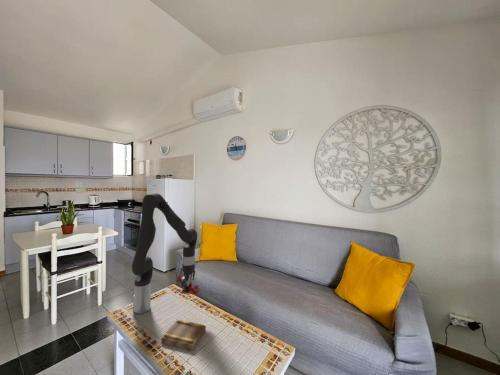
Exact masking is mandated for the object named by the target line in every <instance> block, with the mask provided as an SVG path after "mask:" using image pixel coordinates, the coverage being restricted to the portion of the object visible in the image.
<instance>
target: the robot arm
mask: <svg viewBox="0 0 500 375" xmlns="http://www.w3.org/2000/svg"><path fill="white" fill-rule="evenodd" d="M155 209H158V210H159V211H160V212H161V213H163V216H164V217H165V220H166V222H167V223H168V225H169V226H170V227H171V228H172V229H173V230H174V231H175V233H176V234H177V235H178V237H179V238H180V241H182V242H183V243H185V245H184V246H183V248H182V259H181V261H182V262H181V271H182V272H183V275H182V276H183V278H181V279H180V280H181V282H180V283H181V287H183V288H184V292H188V283H189V281H190V279H191V280H192V281H194V280H195V276H196V245H197V241H198V232H197V231H196V229H194V228H189V229H187V226H186V225H187V224H186V222H185V221H183V219H181V217H179V216H178V215H177V214H176V213H175V211H174V210H173V209H172V207H171V206H170V204H168V202H167V201H166V200H165V198H164V197H163V196H162V194H160V193H156V192H155V193H154V192H153V193H148V194H146V195H144V197H143V198H142V202H141V218H140V225H139V230H138V231H139V232H138V236H137V243H136V248H135V254H134V257H133V260H132V264H131V270H132V274H133V275H134V276H136V278H134V293H133V294H134V295H133V296H132V312H134V313H135V314H137V315H141V314H142V315H143V314H146V313H148V312H149V311H150V310H151V306H152V305H151V302H152V301H151V300H152V299H151V298H152V297H151V296H152V294H151V293H152V292H151V291H152V287H151V286H152V285H151V284H152V278H153V271H154V263H153V259H152V258H151V257H149V255H148V256H147V254H148V252H149V250H150V249H151V247H152V245H153V243H154V241H155V238H156V237H155V236H156V231H157V227H156V224H155V221H154V212H155ZM187 280H188V281H187ZM192 284H193V282H192V283H191V284H190V285H189V286H191V288H192V286H193V285H192Z"/></svg>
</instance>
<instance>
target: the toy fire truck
mask: <svg viewBox="0 0 500 375" xmlns="http://www.w3.org/2000/svg"><path fill="white" fill-rule="evenodd" d="M181 278H183V275H179V276H178V277H177V278H176V280H175V281H176V282H178V283H181V280H180V279H181ZM187 281H188V280H187ZM191 283H192V284H193V280H191V279H190V281H189V283H188V292H184V287H183V288H182V290H181V294H184V295H194V296H196V295H199V293H200V288H199V286H198V285H194V287H193V288H191V286H189V285H190V284H191Z"/></svg>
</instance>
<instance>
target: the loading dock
mask: <svg viewBox="0 0 500 375" xmlns="http://www.w3.org/2000/svg"><path fill="white" fill-rule="evenodd" d="M206 328H207V325H204V324H200V323H196V322H191V321H187V320H183V319H176V320H175V321H174V323H173V324H172V325H171V326H170V327H169V328H168V329H167V330H166V331H165V333H163V335H162V336H160V343H161V344H164V345H166V346H167V345H168V346H171V347H176V348H179V349H183V350H187V351H192V352H193V351H194V350H195V348H196V346H198V344H199V342H200V341H201V339H202V338H203V336H204V335H205V333H206Z"/></svg>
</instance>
